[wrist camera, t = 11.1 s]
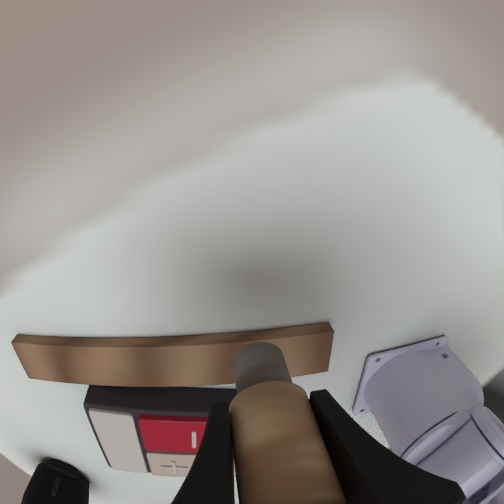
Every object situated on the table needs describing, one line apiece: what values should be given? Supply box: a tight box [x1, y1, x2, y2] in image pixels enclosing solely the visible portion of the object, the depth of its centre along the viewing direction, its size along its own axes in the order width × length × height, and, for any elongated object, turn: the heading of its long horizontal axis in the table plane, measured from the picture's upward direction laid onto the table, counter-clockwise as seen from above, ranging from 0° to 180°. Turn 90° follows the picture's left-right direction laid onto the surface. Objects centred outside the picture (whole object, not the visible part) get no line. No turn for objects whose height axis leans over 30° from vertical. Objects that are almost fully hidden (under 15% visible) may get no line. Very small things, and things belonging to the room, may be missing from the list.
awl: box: [229, 342, 346, 504], centre depth 10 cm, size 3×3×8 cm
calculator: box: [84, 385, 237, 477], centre depth 23 cm, size 11×4×15 cm
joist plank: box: [11, 322, 334, 387], centre depth 21 cm, size 26×4×1 cm, turn 92°
